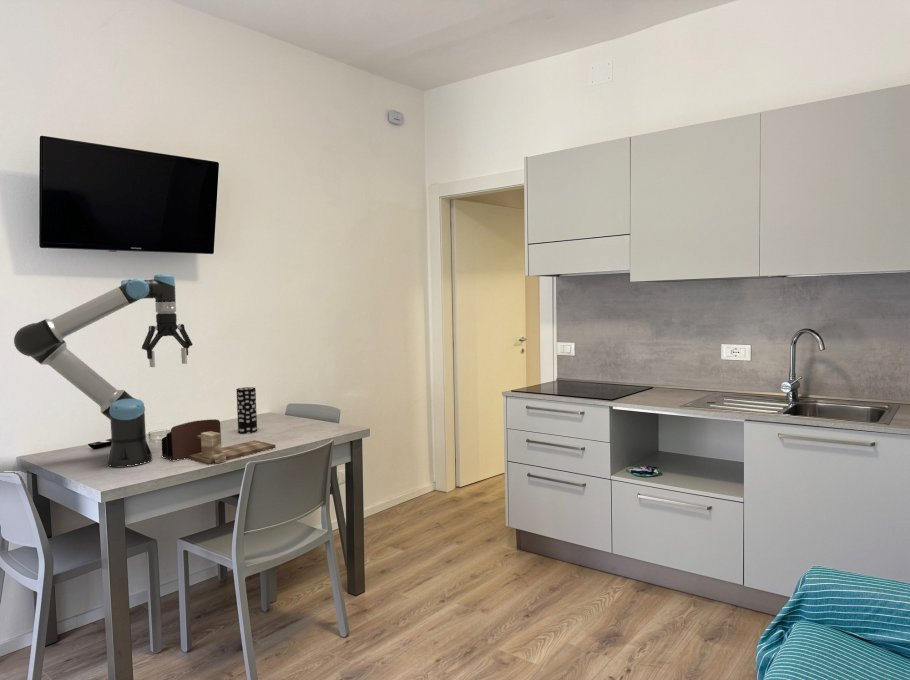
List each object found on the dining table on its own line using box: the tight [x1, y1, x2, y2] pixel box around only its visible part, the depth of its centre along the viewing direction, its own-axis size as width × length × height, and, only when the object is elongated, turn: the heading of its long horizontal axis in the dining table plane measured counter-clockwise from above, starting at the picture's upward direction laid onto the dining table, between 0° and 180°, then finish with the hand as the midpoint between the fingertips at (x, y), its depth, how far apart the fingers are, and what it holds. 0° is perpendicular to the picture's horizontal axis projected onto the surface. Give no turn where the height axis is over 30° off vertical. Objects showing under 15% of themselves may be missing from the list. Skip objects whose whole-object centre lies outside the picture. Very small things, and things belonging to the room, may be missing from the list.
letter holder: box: [161, 418, 222, 461], centre depth 256 cm, size 10×20×14 cm, turn 138°
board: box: [188, 439, 277, 465], centre depth 256 cm, size 30×14×2 cm, turn 143°
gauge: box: [197, 431, 227, 464], centre depth 247 cm, size 4×15×10 cm, turn 53°
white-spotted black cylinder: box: [236, 386, 258, 435], centre depth 296 cm, size 8×8×20 cm
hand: (168, 365), depth 262 cm, fingers open, 13 cm apart
